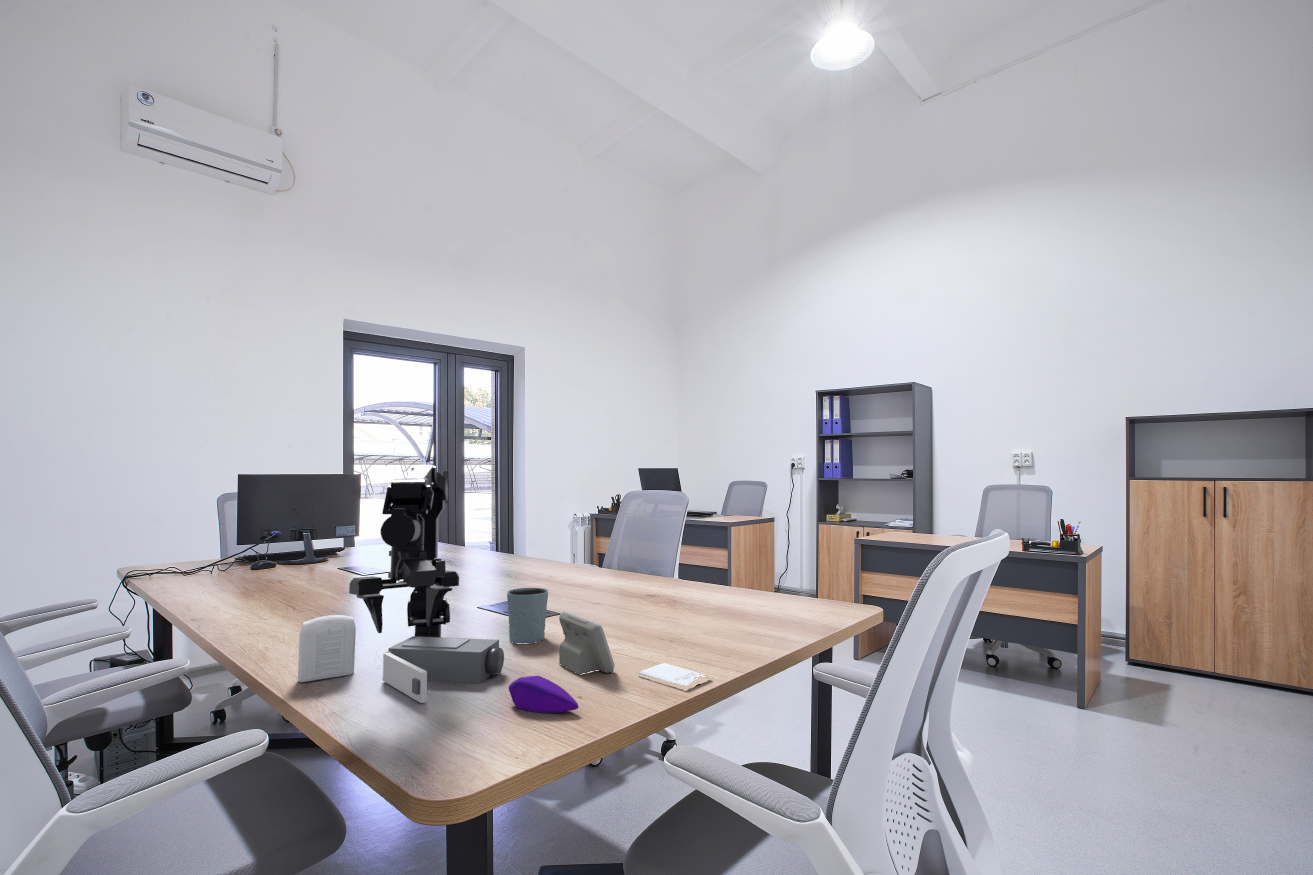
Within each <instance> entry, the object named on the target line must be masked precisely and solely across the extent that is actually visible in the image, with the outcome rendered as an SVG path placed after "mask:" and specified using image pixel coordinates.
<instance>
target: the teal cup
mask: <svg viewBox="0 0 1313 875" xmlns="http://www.w3.org/2000/svg"><path fill="white" fill-rule="evenodd" d="M506 596H507V611H508V628H509V629H508V630H509V631H508V632H509V634H508V637H509V642H510V641H511V642H513V643H512V644H514V643H534V644H536V643H535V642H538V643H540V642H539V641H541V640H543V639H545V633H546V632H545V630H546V620H547V619H546V617H547V611H548V610H547V606H548V600H549V590H548V589H546V588H541V587H522V588H521V587H520V588H515V589H509V590H508V591H507V592H506ZM543 641H544V640H543ZM511 642H510V643H511ZM541 642H542V641H541Z"/></svg>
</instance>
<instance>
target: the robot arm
mask: <svg viewBox="0 0 1313 875" xmlns="http://www.w3.org/2000/svg"><path fill="white" fill-rule="evenodd" d="M448 499H449V487H448V480H447V478H446V477H445V476H443V475H442V474H441V473H440V472H439V471H438V468H437V466H435V465H433V464H416V465H414V466H412V467H411V472H410V473H409V474H407V476H406V477H405V478H396V479H393V480H392V481H391V482H390V485H388V486H387V488H386V493H385V498H384V501H383V508H382V515H390V516H389V517H387V518H386V519H385V520H384V521H383V522H382V525H381V527H380V538H381V539H382V540H383V542H384V543H385V544H386V545H387V546H390V547H391V549H390V550H388V557H390V571H389V572H388V573H387V574H388V575H387V576H388V577H387V578H382V577H380V576H373V575H372V576H361V577H353V578H352V579H351V580H350V581H349V586H348V588H349V590H348V591H349V592H348V593H349V595H355V596H356V598H357V599H362V600H363V602H364V604H365V606H366V608H367V610H368V612H369V614H370V616H371V619H372V621H373V624H374V627H375V629H376V632H377V633H378V634H382V633H383V601H384V597H385V595H383V594H381V592H382V590H389V589H391V590H392V589H400V588H413V590H412V592H411V594H410V596H409V599H408V601H407V608H406V612H407V617H406V618H407V627H414V636H420V637H442V625H443V626H444V625H447V624H449V623H451V608H450V603H448V599H447V597H445V596H446V594H447V593H448V592H452V591H453V587H459V586H460V576H459V573H457V571H456V570H446V560H445V558H443V557H438V551H439V547H438V546H439V544H438V543H439V542H438V540H439V517H440V516H441V514H442V512H443V510H444V509H445V507H446V501H448Z"/></svg>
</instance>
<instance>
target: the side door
mask: <svg viewBox="0 0 1313 875" xmlns="http://www.w3.org/2000/svg"><path fill="white" fill-rule="evenodd" d="M382 659H383V661H382V662H383V663H382V681H383V682H385V683H386V684H387V685H389V686H391V687H393V688H394V689H396V690H398V691H399V692H402V693H403V694H405V695H407V696H408V697H410V698H412V699H413V700H415V701H416V702H419V703H420V704H424V703H427V698H428V696H427V695H428V694H427V693H428V692H427V691H428V690H427V688H428V680H427V671H425V670H423V669H421V668H419V667H417V666H415V665H413V664H411V663H409V662H407V661H405V660H403V659H401V658H399V657H397V656H395V655H393V654H391V651H385V652H384V653H383V657H382Z"/></svg>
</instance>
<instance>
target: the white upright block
mask: <svg viewBox="0 0 1313 875" xmlns="http://www.w3.org/2000/svg"><path fill="white" fill-rule="evenodd" d="M301 625H302V626H301V627H300V628H301V629H300V631H299V639H298V640H299V643H298V644H299V645H298V646H299V647H298V662H297V664H298V667H297V681H298V683H306V682H311V681H318V680H323V679H331V678H337V677H338V678H339V677H343V676H350V675H353V674H354V673H355V660H356V659H355V658H356V657H355V656H356V654H355V653H356V651H355V650H356V634H357V633H356V632H357V630H356V629H357V627H356V622H355V619H354V617H353V616H349V615H343V614H342V615H341V614H331V615H330V614H329V615H324V616H317V617H316V618H313V619H308V620H306V621H304V622H302V624H301Z"/></svg>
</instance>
